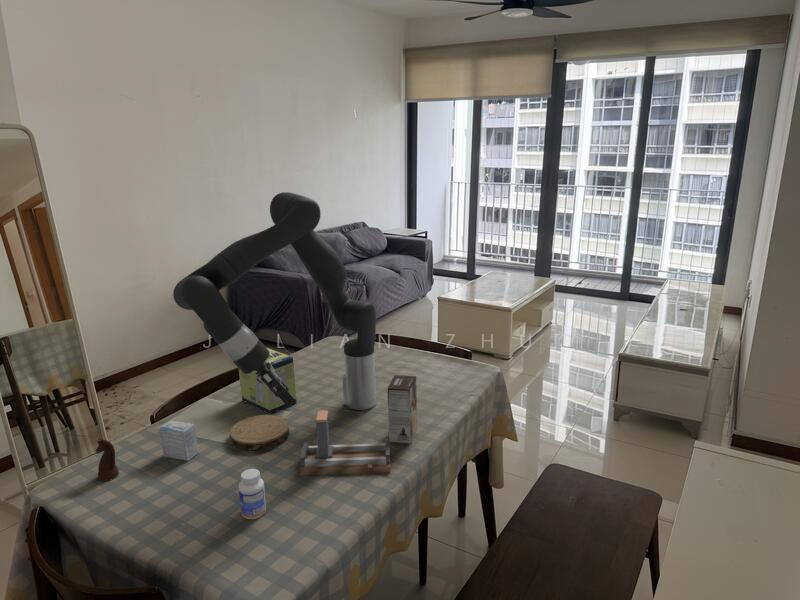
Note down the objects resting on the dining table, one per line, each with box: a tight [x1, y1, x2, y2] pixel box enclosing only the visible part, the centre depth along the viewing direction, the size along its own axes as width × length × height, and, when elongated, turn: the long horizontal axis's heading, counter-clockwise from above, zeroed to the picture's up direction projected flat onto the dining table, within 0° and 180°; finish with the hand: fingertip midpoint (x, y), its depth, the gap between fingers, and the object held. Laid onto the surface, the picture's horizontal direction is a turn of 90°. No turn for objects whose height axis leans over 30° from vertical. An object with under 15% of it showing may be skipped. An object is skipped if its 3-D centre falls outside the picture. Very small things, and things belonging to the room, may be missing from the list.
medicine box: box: [159, 420, 199, 462], centre depth 145 cm, size 8×4×9 cm, turn 71°
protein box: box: [238, 347, 298, 414], centre depth 174 cm, size 10×16×16 cm
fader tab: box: [315, 410, 333, 459], centre depth 139 cm, size 4×5×12 cm
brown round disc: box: [229, 414, 290, 453], centre depth 155 cm, size 16×16×3 cm
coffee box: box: [387, 374, 418, 444], centre depth 152 cm, size 9×6×16 cm
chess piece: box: [95, 438, 120, 482], centre depth 136 cm, size 5×5×10 cm
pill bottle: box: [238, 468, 267, 520], centre depth 121 cm, size 5×5×10 cm
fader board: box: [299, 439, 391, 476], centre depth 141 cm, size 22×10×4 cm, turn 92°
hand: (288, 398), depth 131 cm, fingers open, 8 cm apart
